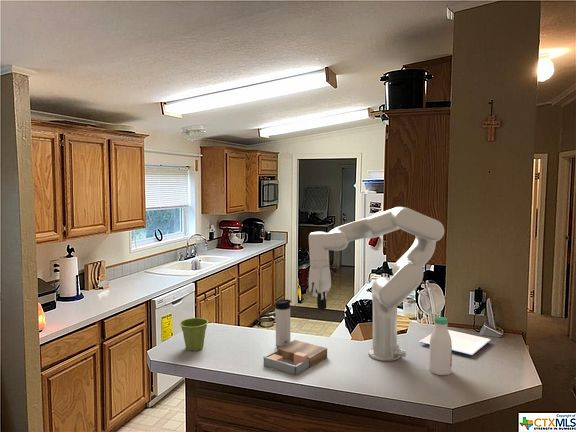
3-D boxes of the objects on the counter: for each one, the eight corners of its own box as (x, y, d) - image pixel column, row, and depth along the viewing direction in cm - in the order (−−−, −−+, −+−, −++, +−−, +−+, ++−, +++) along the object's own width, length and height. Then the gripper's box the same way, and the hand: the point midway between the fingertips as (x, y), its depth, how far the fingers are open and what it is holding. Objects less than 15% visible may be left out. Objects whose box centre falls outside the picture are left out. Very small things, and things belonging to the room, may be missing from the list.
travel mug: (289, 349, 186) (289, 302, 184) (274, 348, 187) (273, 301, 186) (292, 343, 192) (292, 298, 191) (277, 342, 193) (277, 297, 192)
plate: (491, 343, 191) (491, 338, 191) (472, 359, 175) (472, 354, 174) (440, 332, 206) (440, 327, 206) (418, 345, 189) (418, 340, 189)
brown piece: (327, 358, 176) (327, 348, 176) (310, 368, 167) (310, 358, 167) (294, 349, 186) (294, 339, 186) (276, 358, 177) (276, 348, 176)
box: (309, 368, 167) (309, 359, 167) (295, 376, 160) (295, 366, 160) (277, 358, 176) (277, 350, 176) (263, 365, 170) (263, 356, 169)
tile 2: (307, 354, 167) (303, 356, 165) (307, 366, 167) (303, 368, 165) (297, 351, 170) (293, 353, 168) (297, 363, 170) (293, 365, 168)
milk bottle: (448, 377, 158) (449, 322, 156) (426, 373, 162) (427, 319, 161) (453, 369, 165) (454, 317, 163) (432, 365, 169) (433, 313, 167)
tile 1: (275, 360, 167) (275, 366, 167) (283, 356, 170) (283, 362, 171) (266, 357, 170) (266, 363, 170) (274, 353, 173) (274, 360, 173)
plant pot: (174, 351, 185) (173, 324, 184) (190, 341, 196) (189, 316, 195) (199, 355, 181) (198, 328, 180) (214, 345, 192) (213, 319, 191)
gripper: (321, 259, 184) (323, 302, 185) (301, 266, 172) (303, 312, 173) (337, 260, 179) (339, 304, 181) (317, 267, 167) (320, 315, 169)
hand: (322, 308), depth 177 cm, fingers closed
